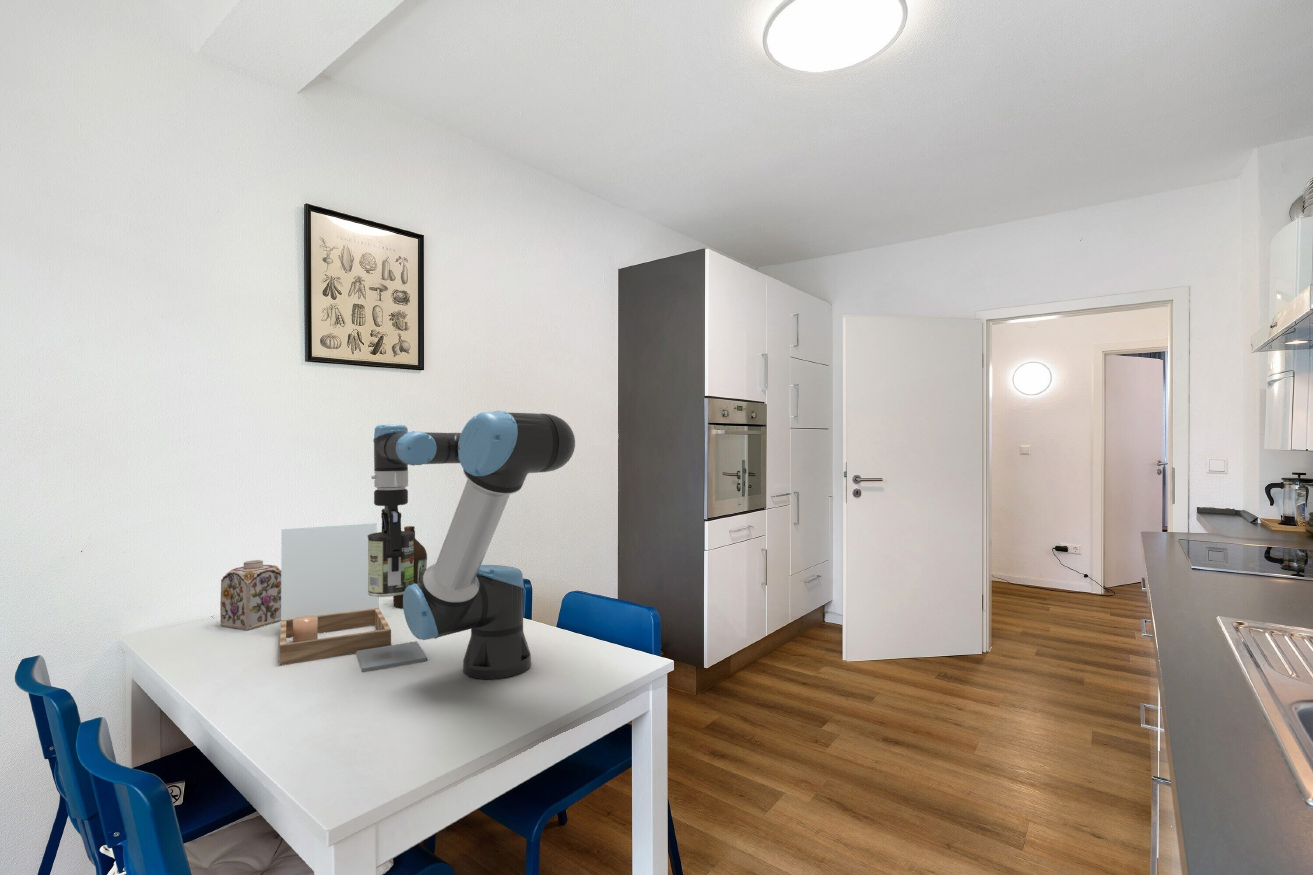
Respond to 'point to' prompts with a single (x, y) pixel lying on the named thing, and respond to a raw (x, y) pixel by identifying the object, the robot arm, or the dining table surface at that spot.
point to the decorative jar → (251, 596)
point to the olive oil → (414, 566)
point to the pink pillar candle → (305, 628)
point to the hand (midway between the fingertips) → (391, 580)
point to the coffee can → (379, 564)
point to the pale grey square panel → (325, 570)
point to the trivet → (390, 656)
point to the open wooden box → (338, 643)
